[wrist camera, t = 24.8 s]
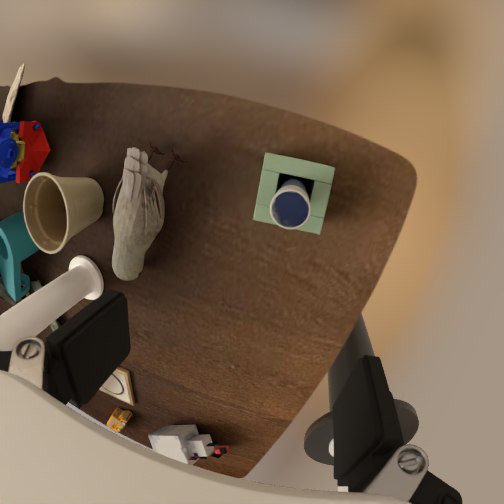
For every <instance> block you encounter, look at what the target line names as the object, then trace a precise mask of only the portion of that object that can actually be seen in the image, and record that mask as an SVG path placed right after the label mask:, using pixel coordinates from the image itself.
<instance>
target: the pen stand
mask: <svg viewBox="0 0 504 504" xmlns="http://www.w3.org/2000/svg"><path fill="white" fill-rule="evenodd" d="M262 169H263V170H262V173H261V179H260V184H259V190H258V195H257V201H256V203H257V204H256V206H255V212H254V218H253V220H256V221H260V222H265V223H270V224H274V225H277V224H276V223H275V222H274V220H273V219H272V217H271V214H270V204H271V201H272V199H273V197H274V196H275V194H276V193H277V191H278V190H279V188H280V183H281V178H282V173H283V174H288V175H293V176H297V177H302V178H306V179H311V184H310V189H309V194H308V197H309V201H310V205H311V214H310V217H309V219H308V221H307V222H306V223H305V224H304V225H303V226H301V227H299V228H297V230H302V231H306V232H311V233H315V234H320V233H321V229H322V225H323V221H324V217H325V213H326V208H327V204H328V200H329V195H330V191H331V186H332V185H331V184H332V182H333V177H334V172H335V167H332V166H328V165H324V164H320V163H315V162H311V161H306V160H302V159H297V158H292V157H287V156H282V155H277V154H272V153H265V157H264V162H263V168H262Z"/></svg>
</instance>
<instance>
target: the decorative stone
mask: <svg viewBox="0 0 504 504" xmlns="http://www.w3.org/2000/svg"><path fill="white" fill-rule="evenodd" d="M24 67H25V64H23V65H21V67H20V68H19V71H18V73H17V75H16V78H15V81H14V83H13V85H12V87H11V89H10V92H9V95H8V97H7V101H6V105H5V109H4V113H3V123H10V121H11V116H12V111H13V107H14V102H15V99H16V96H17V93H18V90H19V86H20V83H21V79H22V77H23V72H24Z"/></svg>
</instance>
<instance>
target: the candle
mask: <svg viewBox="0 0 504 504" xmlns="http://www.w3.org/2000/svg"><path fill="white" fill-rule="evenodd" d="M103 289H104V282H103V277H102V274H101V272H100V270H99V268H98V267H97V265H96V264H95V263H94V262H93V261H92V260H91V259H90V258H88V257H86V256H82V255H81V256H77V257H75V258H73V259H72V261H71V262H70V265H69V271H68V272H66V273H65V274H63V275H61V276H60V277H58V278H56V279H55V280H53V281H52V282H50V283H48V284H47V285H45V286H44V287H42V288H40V289H39V290H37V291H36V292H34V293H33V294H31V295H30V296H28V297H27V298H25V299H24V300H22V301H21V302H19V303H18V304H16V305H15V306H13V307H12V308H10V309H9V310H8V311H6V312H5V313H3V314H2V315H0V351H12V350H13V347H14V344H15V343H16V342H17V341H18V340H20V339H21V338H24V337H29V336H32V337H35V336H36V335H37V334H39V333H40V332H41V331H42V330H44V329H45V328H46V327H47V326H48V325H50V324H51V323H52V322H53V321H55V320H56V319H57V318H59V317H60V316H61V315H62V314H64V313H65V312H66V311H67V310H69V309H70V308H71V307H73V306H74V305H75V304H76V303H78V302H79V301H80V300H82V299H83V298H86V299H89V300H95V299H97V298H98V297H100V296H101V294H102V292H103Z"/></svg>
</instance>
